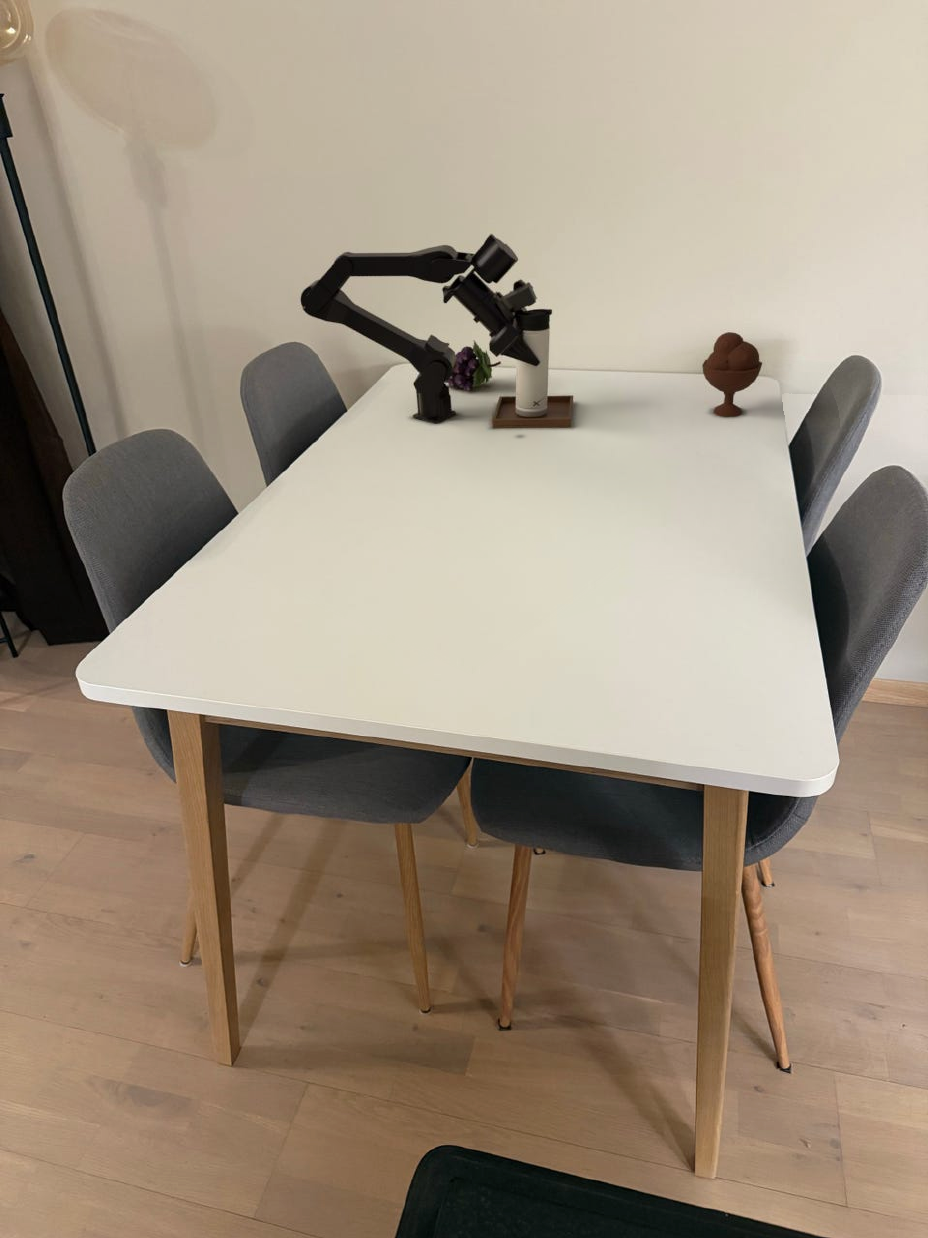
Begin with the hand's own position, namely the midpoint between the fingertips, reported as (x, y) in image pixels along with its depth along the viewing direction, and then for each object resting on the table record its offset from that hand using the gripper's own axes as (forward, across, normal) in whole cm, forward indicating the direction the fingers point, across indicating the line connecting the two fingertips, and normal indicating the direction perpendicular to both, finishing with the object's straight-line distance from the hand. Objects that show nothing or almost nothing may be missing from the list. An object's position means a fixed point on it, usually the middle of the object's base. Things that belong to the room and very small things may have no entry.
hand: (539, 359), depth 174 cm
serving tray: (+7, 0, +9) cm, 11 cm away
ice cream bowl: (+34, +1, -18) cm, 38 cm away
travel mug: (+6, 0, +9) cm, 11 cm away
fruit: (-4, +18, +20) cm, 27 cm away
